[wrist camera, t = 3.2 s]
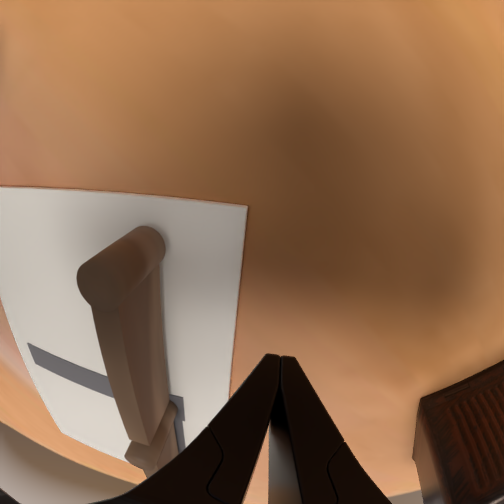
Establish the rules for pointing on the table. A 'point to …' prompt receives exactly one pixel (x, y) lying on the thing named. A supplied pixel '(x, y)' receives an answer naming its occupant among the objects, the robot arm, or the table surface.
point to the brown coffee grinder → (463, 441)
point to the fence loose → (130, 326)
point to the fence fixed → (156, 445)
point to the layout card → (80, 313)
